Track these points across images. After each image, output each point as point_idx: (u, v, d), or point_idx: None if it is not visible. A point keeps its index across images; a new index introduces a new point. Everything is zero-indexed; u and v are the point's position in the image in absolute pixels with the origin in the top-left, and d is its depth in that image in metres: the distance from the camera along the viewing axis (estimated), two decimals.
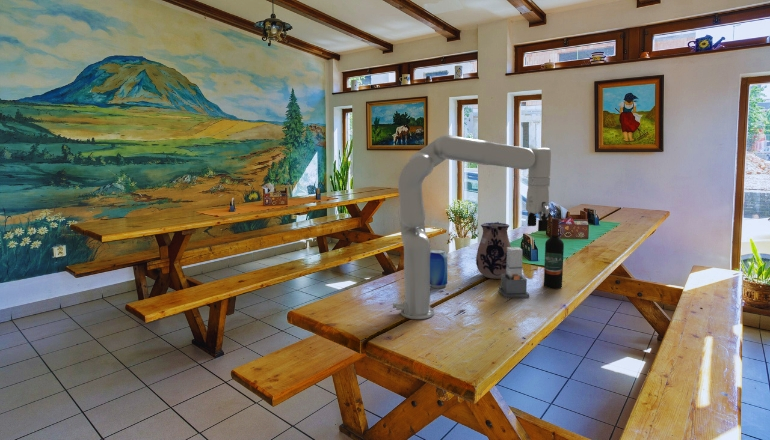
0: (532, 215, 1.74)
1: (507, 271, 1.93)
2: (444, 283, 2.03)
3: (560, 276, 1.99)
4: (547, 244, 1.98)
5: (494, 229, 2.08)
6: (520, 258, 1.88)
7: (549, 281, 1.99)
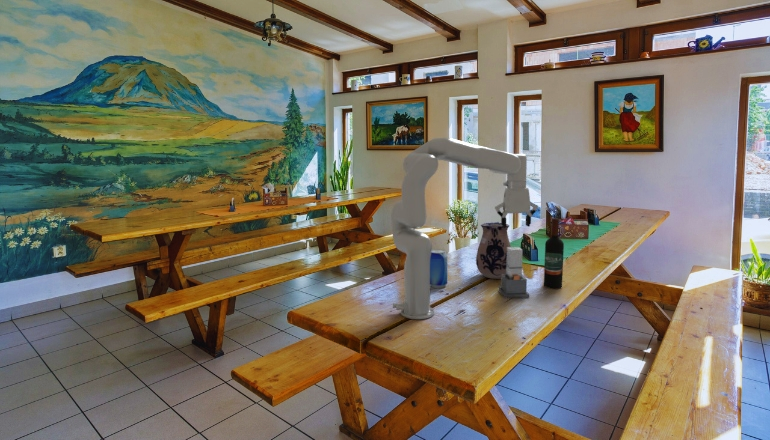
0: None
1: (507, 271, 1.93)
2: (444, 283, 2.03)
3: (560, 276, 1.99)
4: (547, 244, 1.98)
5: (494, 229, 2.08)
6: (520, 258, 1.88)
7: (549, 281, 1.99)
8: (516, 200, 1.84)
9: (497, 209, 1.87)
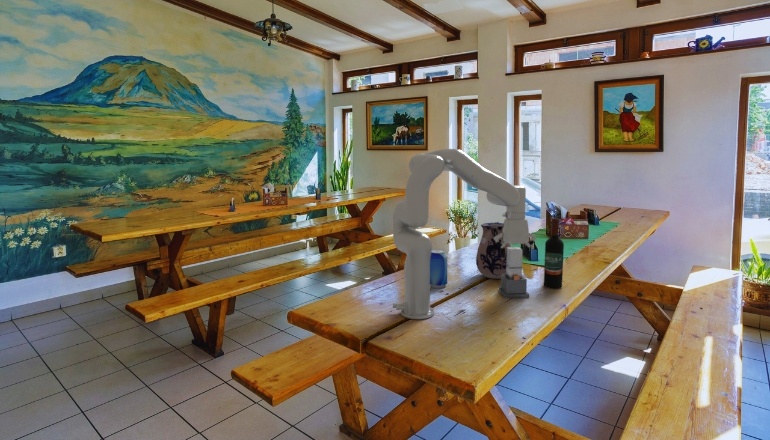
0: None
1: (507, 271, 1.93)
2: (444, 283, 2.03)
3: (560, 276, 1.99)
4: (547, 244, 1.98)
5: (494, 229, 2.08)
6: (520, 258, 1.88)
7: (549, 281, 1.99)
8: (515, 231, 1.86)
9: (496, 239, 1.89)
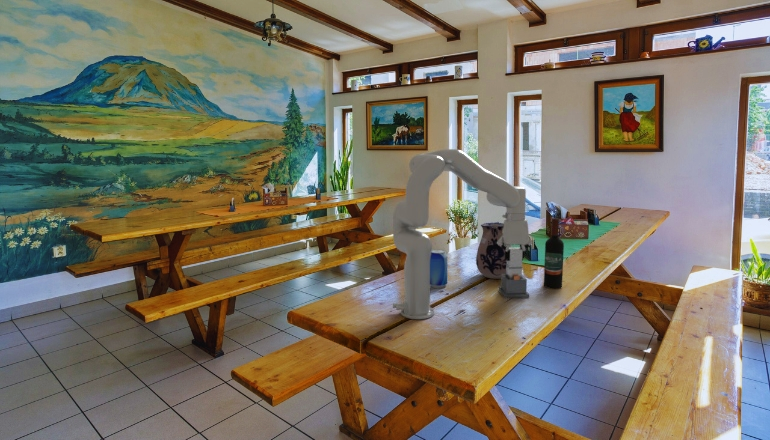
0: (508, 249, 1.90)
1: (507, 271, 1.93)
2: (444, 283, 2.03)
3: (560, 276, 1.99)
4: (547, 244, 1.98)
5: (494, 229, 2.08)
6: (520, 258, 1.88)
7: (549, 281, 1.99)
8: (515, 232, 1.86)
9: (499, 244, 1.89)
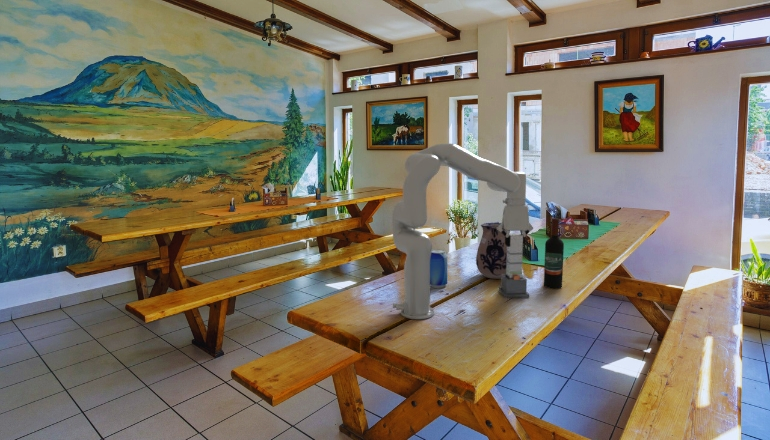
0: (508, 235, 1.89)
1: (507, 257, 1.92)
2: (444, 283, 2.03)
3: (560, 276, 1.99)
4: (547, 244, 1.98)
5: (494, 229, 2.08)
6: (520, 244, 1.87)
7: (549, 281, 1.99)
8: (515, 218, 1.85)
9: (500, 230, 1.88)
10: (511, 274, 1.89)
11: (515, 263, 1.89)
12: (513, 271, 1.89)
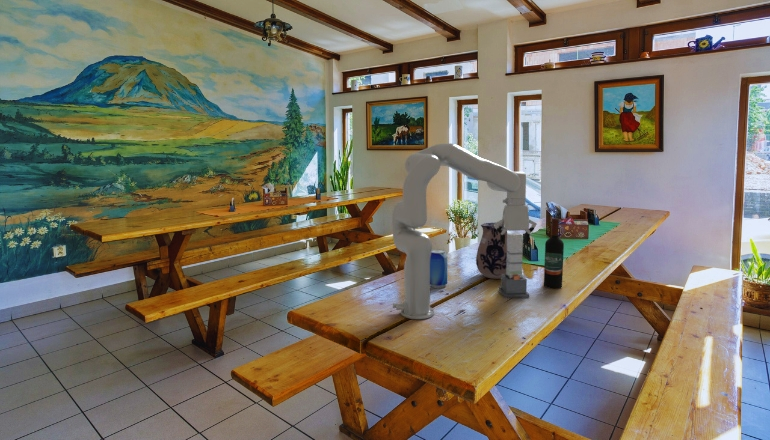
0: None
1: (507, 257, 1.92)
2: (444, 283, 2.03)
3: (560, 276, 1.99)
4: (547, 244, 1.98)
5: (494, 229, 2.08)
6: (520, 244, 1.87)
7: (549, 281, 1.99)
8: (515, 217, 1.85)
9: (496, 226, 1.88)
10: (511, 274, 1.89)
11: (515, 263, 1.89)
12: (513, 271, 1.89)
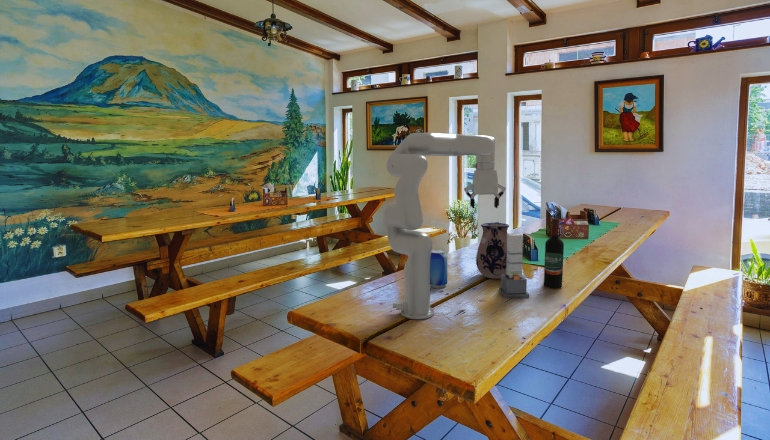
0: (473, 198, 1.93)
1: (507, 257, 1.92)
2: (444, 283, 2.03)
3: (560, 276, 1.99)
4: (547, 244, 1.98)
5: (494, 229, 2.08)
6: (520, 244, 1.87)
7: (549, 281, 1.99)
8: (484, 181, 1.89)
9: (466, 190, 1.92)
10: (511, 274, 1.89)
11: (515, 263, 1.89)
12: (513, 271, 1.89)
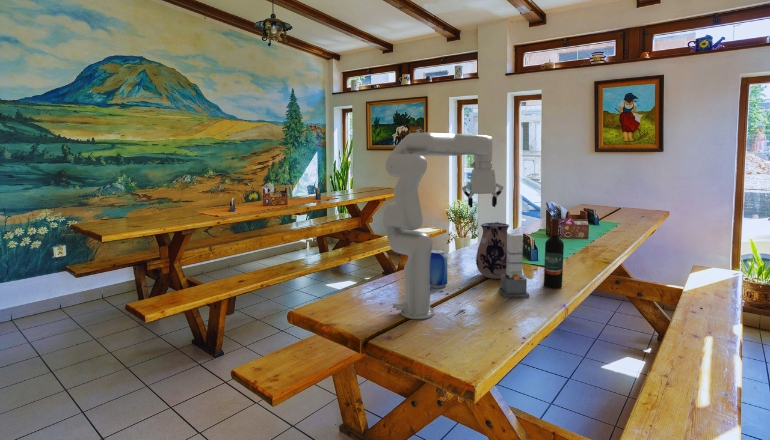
0: (471, 197, 1.93)
1: (507, 257, 1.92)
2: (444, 283, 2.03)
3: (560, 276, 1.99)
4: (547, 244, 1.98)
5: (494, 229, 2.08)
6: (520, 244, 1.87)
7: (549, 281, 1.99)
8: (482, 181, 1.90)
9: (464, 189, 1.92)
10: (511, 274, 1.89)
11: (515, 263, 1.89)
12: (513, 271, 1.89)
